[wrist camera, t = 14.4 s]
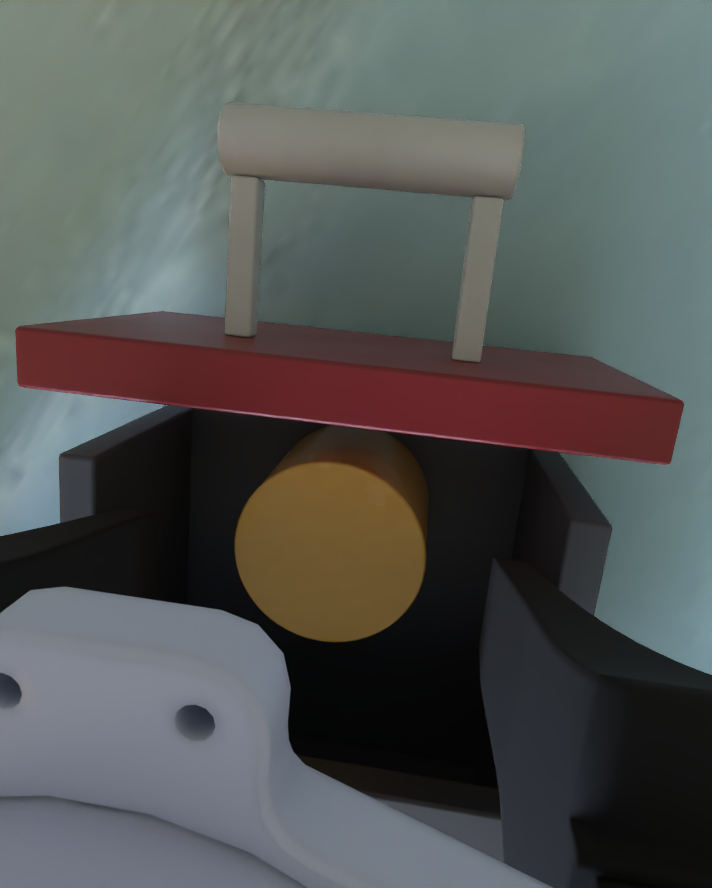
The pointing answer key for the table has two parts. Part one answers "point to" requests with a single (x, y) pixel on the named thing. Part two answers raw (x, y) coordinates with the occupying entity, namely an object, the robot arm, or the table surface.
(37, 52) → the table surface
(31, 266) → the table surface
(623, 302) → the table surface
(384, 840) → the robot arm
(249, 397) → the drawer
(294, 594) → the yellow cylinder
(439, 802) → the charcoal grey case
